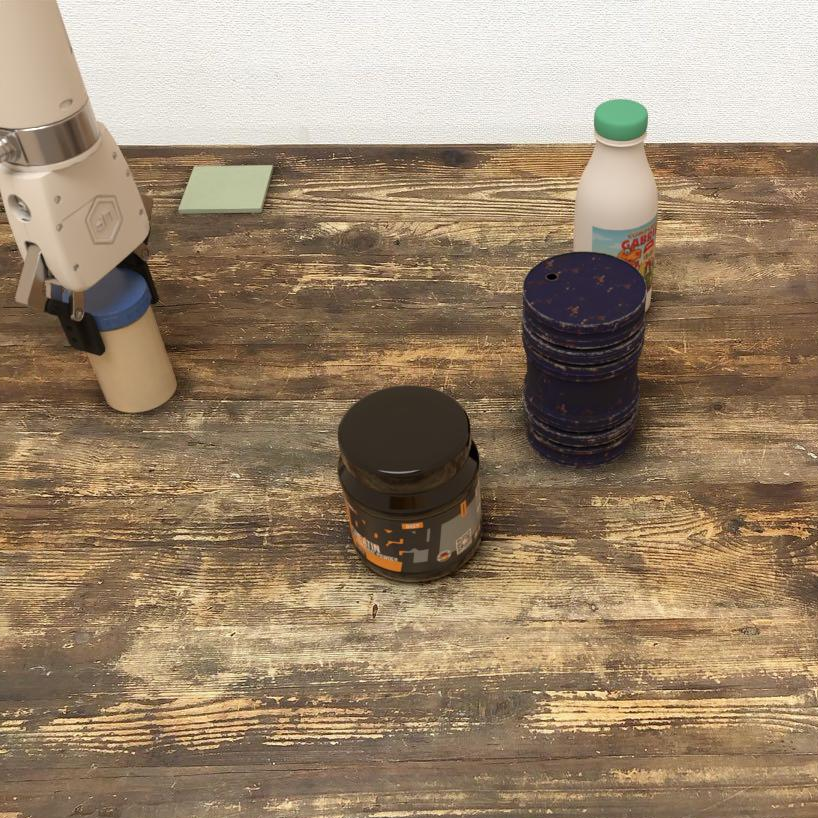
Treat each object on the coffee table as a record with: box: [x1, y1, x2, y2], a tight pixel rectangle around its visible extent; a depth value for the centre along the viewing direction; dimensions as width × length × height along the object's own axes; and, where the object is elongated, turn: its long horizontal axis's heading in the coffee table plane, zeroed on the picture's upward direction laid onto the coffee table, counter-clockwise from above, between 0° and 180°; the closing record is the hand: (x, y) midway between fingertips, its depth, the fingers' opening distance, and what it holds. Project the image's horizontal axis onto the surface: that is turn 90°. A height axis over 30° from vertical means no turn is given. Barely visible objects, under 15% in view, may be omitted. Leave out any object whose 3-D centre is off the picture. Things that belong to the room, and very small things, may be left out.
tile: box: [177, 164, 275, 215], centre depth 120 cm, size 9×9×1 cm
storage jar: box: [521, 251, 647, 469], centre depth 88 cm, size 10×10×15 cm
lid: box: [62, 267, 152, 330], centre depth 90 cm, size 7×7×2 cm
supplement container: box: [336, 384, 484, 583], centre depth 81 cm, size 10×10×12 cm
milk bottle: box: [572, 98, 659, 312], centre depth 98 cm, size 8×8×20 cm
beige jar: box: [85, 305, 178, 414], centre depth 94 cm, size 6×6×10 cm
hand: (116, 323), depth 92 cm, fingers closed on lid, 6 cm apart
